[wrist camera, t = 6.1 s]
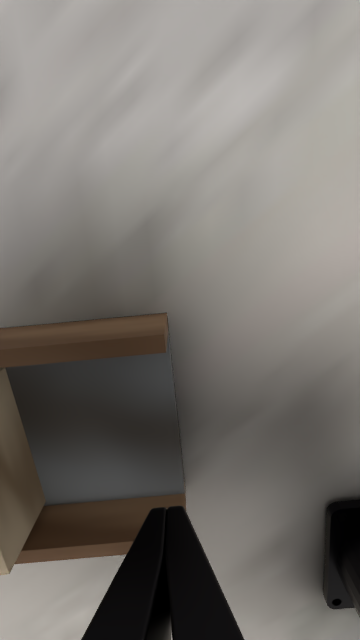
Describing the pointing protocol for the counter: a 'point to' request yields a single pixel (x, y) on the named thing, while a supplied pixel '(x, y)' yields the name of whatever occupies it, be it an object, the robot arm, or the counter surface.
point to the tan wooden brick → (15, 481)
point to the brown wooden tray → (96, 430)
